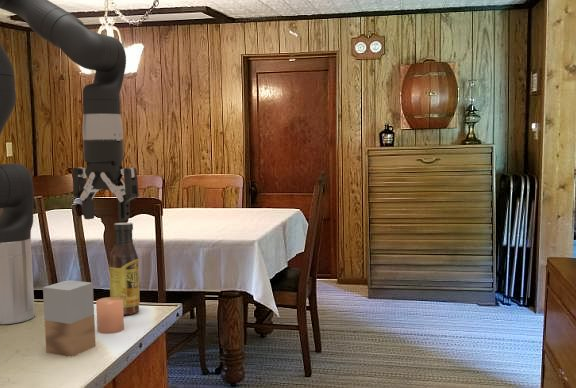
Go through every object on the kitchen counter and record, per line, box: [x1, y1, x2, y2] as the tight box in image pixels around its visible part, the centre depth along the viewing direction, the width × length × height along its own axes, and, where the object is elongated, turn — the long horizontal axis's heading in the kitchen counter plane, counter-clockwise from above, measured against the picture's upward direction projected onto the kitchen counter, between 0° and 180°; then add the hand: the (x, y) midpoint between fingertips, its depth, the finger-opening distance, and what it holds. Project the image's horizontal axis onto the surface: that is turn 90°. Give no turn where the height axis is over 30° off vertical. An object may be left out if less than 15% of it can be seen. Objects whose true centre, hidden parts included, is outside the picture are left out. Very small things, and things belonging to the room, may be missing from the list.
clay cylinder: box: [95, 296, 125, 335], centre depth 121 cm, size 5×5×6 cm
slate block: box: [42, 279, 95, 324], centre depth 109 cm, size 6×6×6 cm
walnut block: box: [44, 314, 97, 358], centre depth 110 cm, size 6×6×6 cm
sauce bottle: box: [109, 222, 141, 316], centre depth 132 cm, size 6×6×20 cm
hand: (106, 219), depth 119 cm, fingers open, 8 cm apart
